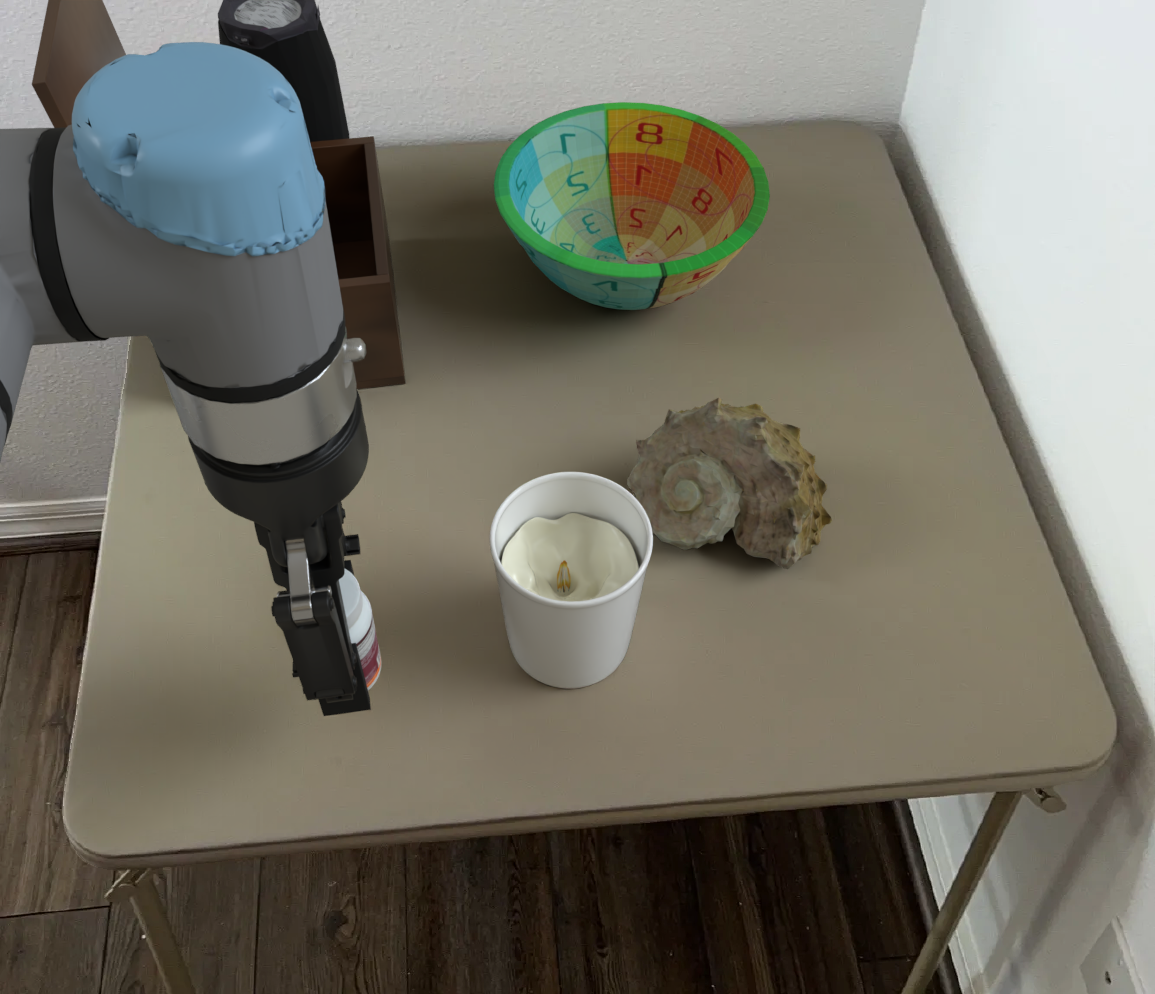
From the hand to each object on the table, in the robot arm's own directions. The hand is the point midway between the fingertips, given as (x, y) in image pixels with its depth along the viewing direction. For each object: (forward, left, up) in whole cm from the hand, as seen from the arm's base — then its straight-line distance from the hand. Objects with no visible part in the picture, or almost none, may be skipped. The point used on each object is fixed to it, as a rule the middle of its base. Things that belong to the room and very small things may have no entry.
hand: (344, 665), depth 67 cm
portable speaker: (-2, +53, -8) cm, 54 cm away
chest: (-3, +38, -7) cm, 39 cm away
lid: (-12, +38, +13) cm, 42 cm away
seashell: (+27, +12, -8) cm, 31 cm away
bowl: (+25, +39, -8) cm, 47 cm away
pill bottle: (0, 0, -1) cm, 1 cm away
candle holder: (+14, +4, -8) cm, 17 cm away
